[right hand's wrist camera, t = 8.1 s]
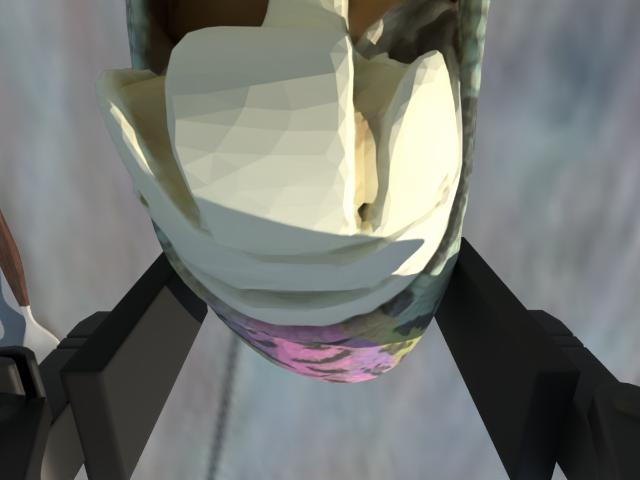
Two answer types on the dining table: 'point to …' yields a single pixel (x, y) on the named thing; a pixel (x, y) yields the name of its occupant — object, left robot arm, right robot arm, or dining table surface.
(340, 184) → the shoe
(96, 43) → the dining table surface
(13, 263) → the fork
